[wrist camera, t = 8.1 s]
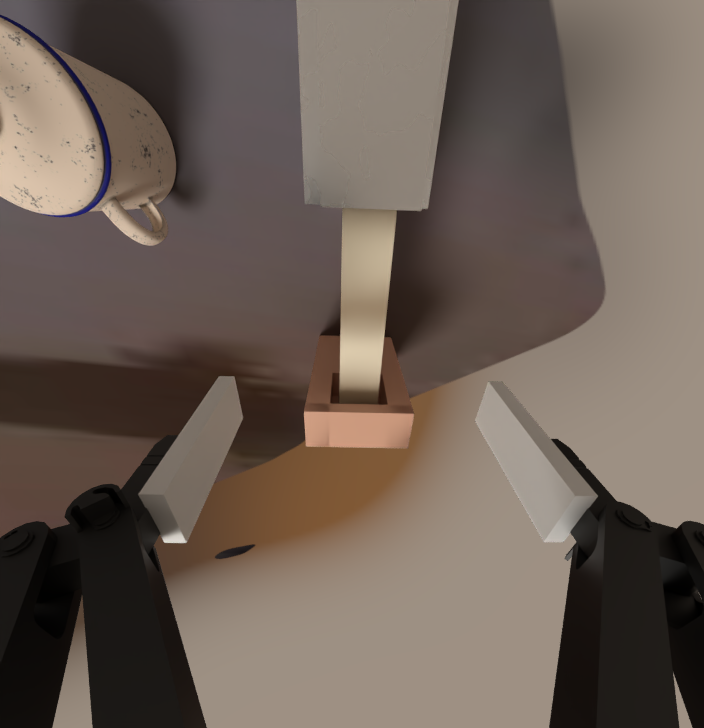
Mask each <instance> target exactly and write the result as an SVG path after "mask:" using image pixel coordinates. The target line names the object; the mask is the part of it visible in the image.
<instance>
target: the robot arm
mask: <svg viewBox="0 0 704 728" xmlns="http://www.w3.org/2000/svg"><path fill="white" fill-rule="evenodd" d="M242 419H243V416H242V411H241V406H240V401H239V397H238V392H237V387H236V382H235V377H226V376H219V377H218V379H217V380H216V382H215V383H214V384H213V386H212V387H211V389H210V390H209V392H208V393H207V395H206V396H205V398H204V399H203V401H202V402H201V403H200V405H199V406H198V408H197V409H196V411H195V412H194V414H193V415H192V417H191V418H190V420H189V421H188V422H187V424H186V425H185V427H184V428H183V430H182V431H181V433H180V434H179V435H167V436H166V437H164V438H163V439H162V440H160V441H159V442H158V443H157V444H155V445H154V447H153V448H152V449H151V451H150V452H149V453H148V455H147V457H145V459H144V460H143V461H142V463H141V465H140V466H139V467H138V468H137V469H136V471H135V472H134V473H133V475H132V476H131V477H130V479H129V480H128V481H127V483H126V484H125V485H124V487H123V488H122V489H120V488H119V487H118V486H117V485H114V484H103V485H100V486H97V487H94V488H91V489H89V490H88V491H86V492H84V493H82V494H81V495H80V496H79V497H77V498H76V499H75V500H74V501H73V502H72V503H71V504H70V506H69V507H68V508H67V510H66V514H65V518H66V519H67V520H68V522H69V523H70V524H69V525H65V526H61V527H57V528H54V529H50V528H49V527H48V526H47V524H46V523H45V522H39V521H36V522H31V523H26V524H24V525H22V526H19V527H17V528H15V529H13V530H11V531H10V532H8V533H7V534H5V535H3V536H2V537H1V538H0V728H52V726H53V722H54V717H55V713H56V708H57V704H58V700H59V695H60V691H61V686H62V682H63V677H64V673H65V668H66V664H67V659H68V655H69V651H70V646H71V642H72V637H73V633H74V628H75V624H76V620H77V615H78V611H79V606H80V601H81V597H82V595H83V608H84V621H85V633H86V647H87V660H88V672H89V686H90V699H91V712H92V725H93V728H207V727H206V723H205V720H204V717H203V713H202V709H201V706H200V703H199V699H198V695H197V692H196V689H195V685H194V682H193V678H192V675H191V671H190V667H189V664H188V660H187V657H186V653H185V650H184V646H183V643H182V639H181V636H180V633H179V629H178V625H177V622H176V618H175V615H174V611H173V608H172V604H171V601H170V598H169V594H168V590H167V587H166V584H165V580H164V576H163V573H162V569H161V566H160V562H159V559H158V555H157V552H156V549H155V547H154V544H155V542H156V540H157V538H158V536H159V535H161V537H162V539H163V541H164V542H165V543H187V541H188V538H189V536H190V534H191V532H192V529H193V527H194V525H195V523H196V521H197V518H198V516H199V514H200V512H201V510H202V507H203V505H204V503H205V501H206V499H207V496H208V494H209V492H210V489H211V488H212V485H213V483H214V481H215V479H216V477H217V474H218V472H219V470H220V468H221V465H222V463H223V461H224V459H225V457H226V454H227V452H228V450H229V448H230V446H231V443H232V441H233V439H234V437H235V435H236V432H237V430H238V428H239V426H240V423H241V421H242ZM475 422H476V424H477V426H478V427H479V429H480V431H481V433H482V434H483V436H484V438H485V440H486V441H487V443H488V445H489V447H490V449H491V450H492V452H493V454H494V456H495V457H496V459H497V461H498V463H499V464H500V466H501V468H502V470H503V471H504V473H505V475H506V477H507V478H508V480H509V482H510V484H511V486H512V487H513V489H514V491H515V493H516V494H517V496H518V497H519V499H520V501H521V503H522V505H523V507H524V508H525V510H526V512H527V514H528V515H529V517H530V519H531V521H532V523H533V524H534V526H535V528H536V530H537V531H538V533H539V535H540V537H541V538H542V540H543V542H564V541H565V539H566V538H567V537H568V535H569V534H570V533H571V534H572V536H573V537H574V539H575V540H576V544H575V545H574V546H573V547H572V549H571V550H570V551H569V552H568V554H567V555H566V557H565V559H566V560H567V561H568V560H569V559H570V558H571V557H572V560H571V568H570V575H569V583H568V590H567V598H566V605H565V613H564V620H563V628H562V635H561V643H560V651H559V658H558V665H557V673H556V680H555V688H554V696H553V703H552V710H551V718H550V725H549V728H679V721H678V713H677V704H676V695H675V686H674V677H673V673H674V675H675V678H676V681H677V684H678V687H679V690H680V693H681V695H682V698H683V701H684V704H685V707H686V710H687V713H688V716H689V719H690V721H691V724H692V727H693V728H704V525H703V524H701V523H698V522H693V521H686V522H683V523H682V524H681V525H680V526H679V527H678V528H677V529H676V528H673V527H669V526H665V525H662V524H658V523H655V522H651V521H650V520H649V519H648V517H646V516H645V515H644V514H643V513H641V512H640V511H639V510H637V509H635V508H634V507H632V506H630V505H628V504H625V503H622V502H617V501H616V500H615V499H614V498H613V496H612V495H611V494H610V493H609V492H608V491H607V490H606V489H605V487H604V486H603V485H602V484H601V483H600V482H599V480H598V479H597V478H596V477H595V476H594V475H593V474H592V473H591V471H590V470H589V469H587V468H586V466H585V465H584V463H583V462H582V461H581V460H579V458H578V457H577V455H576V454H575V453H574V452H573V451H572V450H571V449H570V448H569V447H568V446H566V445H565V444H564V443H562V442H561V441H559V440H558V439H550V438H549V437H548V435H547V434H546V433H545V432H544V431H543V430H542V428H541V427H540V426H539V425H538V424H537V422H536V421H535V420H534V419H533V418H532V416H531V415H530V414H529V413H528V412H527V410H526V409H525V408H524V407H523V406H522V404H521V403H520V402H519V401H518V399H517V398H516V397H515V396H514V395H513V393H512V392H511V391H510V390H509V389H508V387H507V386H506V385H505V384H504V383H503V382H494V381H489V382H488V384H487V387H486V390H485V393H484V396H483V399H482V402H481V405H480V408H479V411H478V414H477V417H476V420H475ZM698 592H699V593H698ZM699 594H700V595H699ZM700 596H701V597H700ZM701 598H702V599H701Z"/></svg>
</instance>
